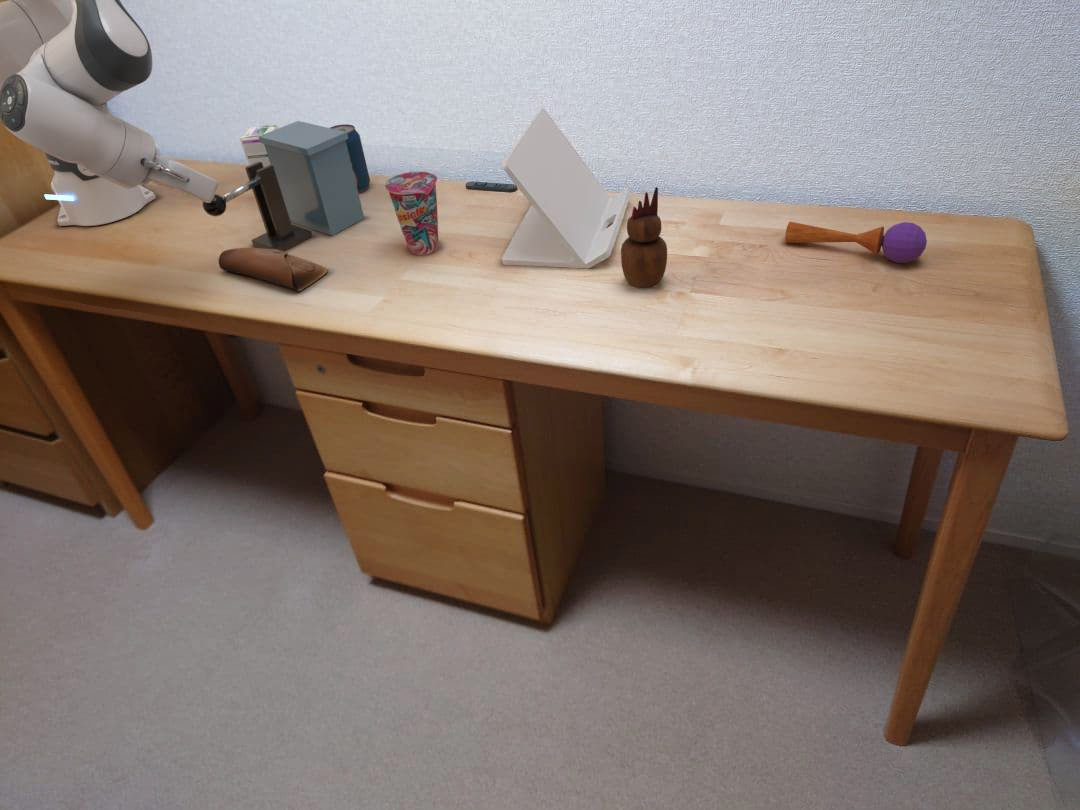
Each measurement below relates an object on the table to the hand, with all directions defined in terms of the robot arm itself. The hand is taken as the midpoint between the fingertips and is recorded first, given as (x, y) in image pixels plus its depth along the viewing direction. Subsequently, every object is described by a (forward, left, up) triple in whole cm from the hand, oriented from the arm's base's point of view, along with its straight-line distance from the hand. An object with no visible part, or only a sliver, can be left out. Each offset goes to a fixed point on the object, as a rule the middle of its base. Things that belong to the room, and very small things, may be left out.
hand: (207, 194), depth 124 cm
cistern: (-6, +19, -13) cm, 24 cm away
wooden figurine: (+52, +48, -13) cm, 72 cm away
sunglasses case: (+8, +5, -13) cm, 16 cm away
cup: (+18, +28, -13) cm, 36 cm away
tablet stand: (+30, +50, -13) cm, 60 cm away
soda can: (-16, +29, -13) cm, 36 cm away
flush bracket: (-3, +10, -13) cm, 17 cm away
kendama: (+66, +78, -13) cm, 103 cm away
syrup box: (-20, +15, -13) cm, 29 cm away
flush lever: (-2, +5, -3) cm, 6 cm away
